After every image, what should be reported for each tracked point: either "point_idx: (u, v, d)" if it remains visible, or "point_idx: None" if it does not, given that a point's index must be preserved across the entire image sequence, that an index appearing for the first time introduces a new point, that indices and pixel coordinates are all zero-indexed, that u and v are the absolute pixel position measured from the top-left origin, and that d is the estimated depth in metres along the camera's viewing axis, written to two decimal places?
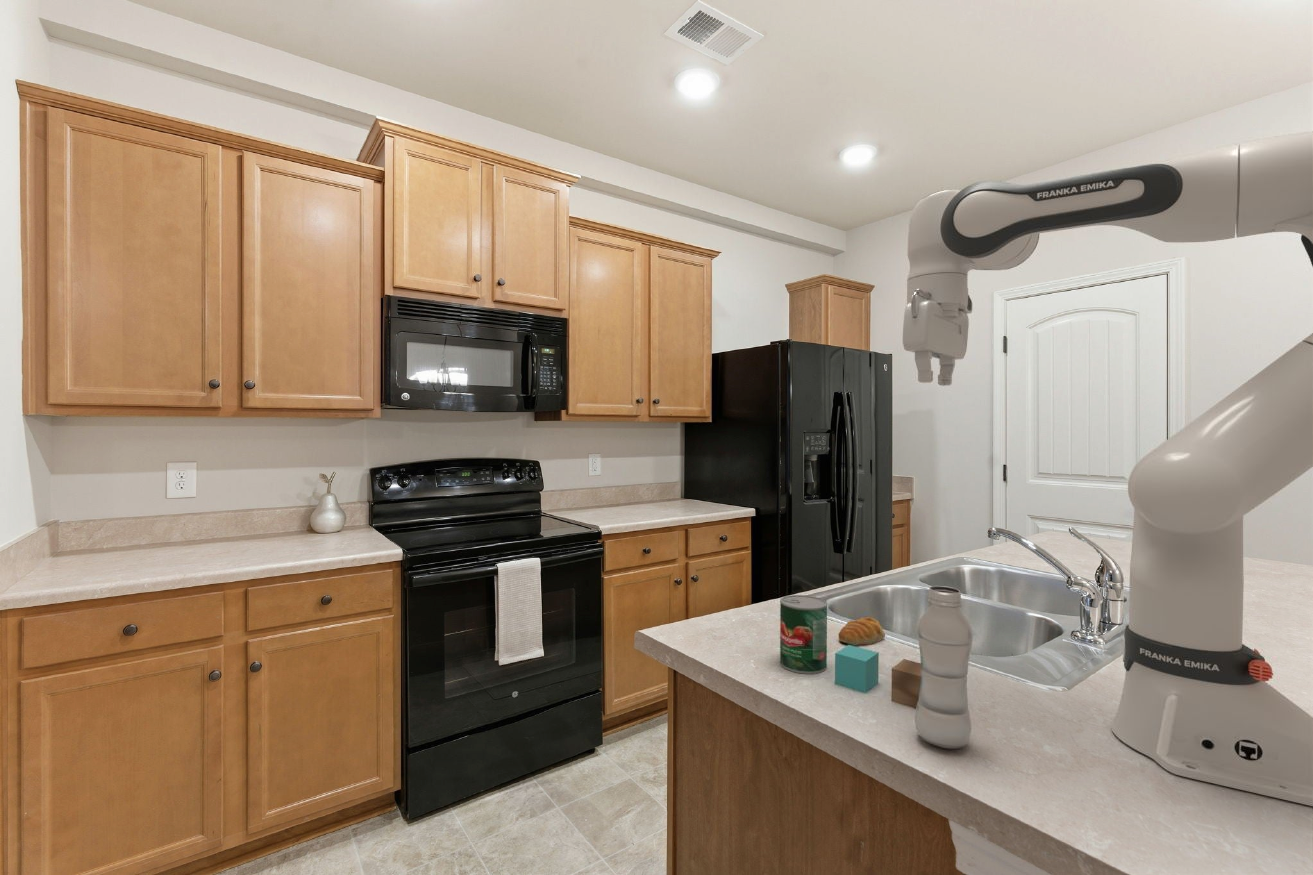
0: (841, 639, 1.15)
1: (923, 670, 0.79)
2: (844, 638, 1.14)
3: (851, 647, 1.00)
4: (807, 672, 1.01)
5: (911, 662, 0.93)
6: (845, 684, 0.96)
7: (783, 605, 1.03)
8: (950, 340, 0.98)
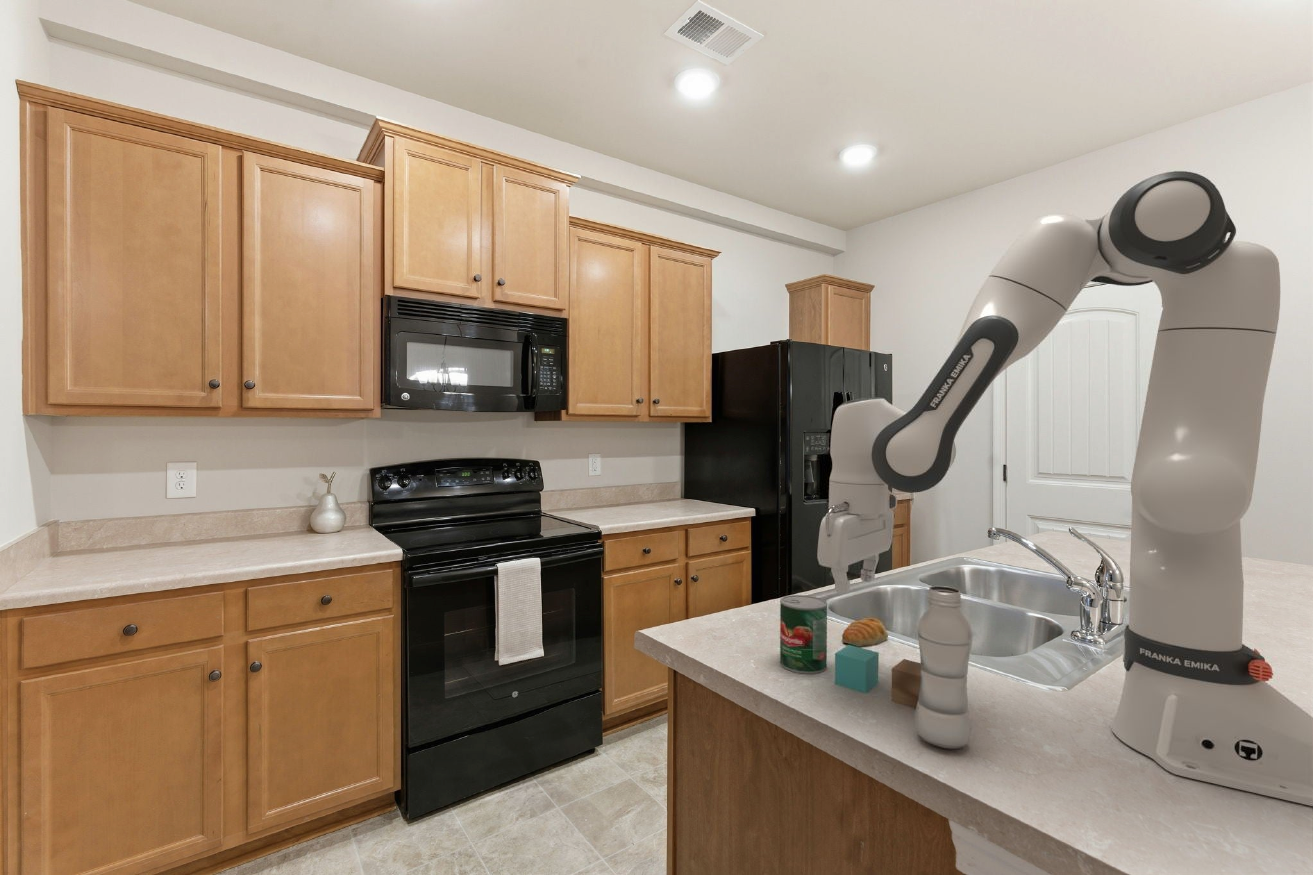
0: (845, 640, 1.14)
1: (923, 670, 0.79)
2: (848, 639, 1.14)
3: (851, 647, 1.00)
4: (807, 672, 1.01)
5: (911, 662, 0.93)
6: (845, 684, 0.96)
7: (783, 605, 1.03)
8: (870, 543, 0.97)
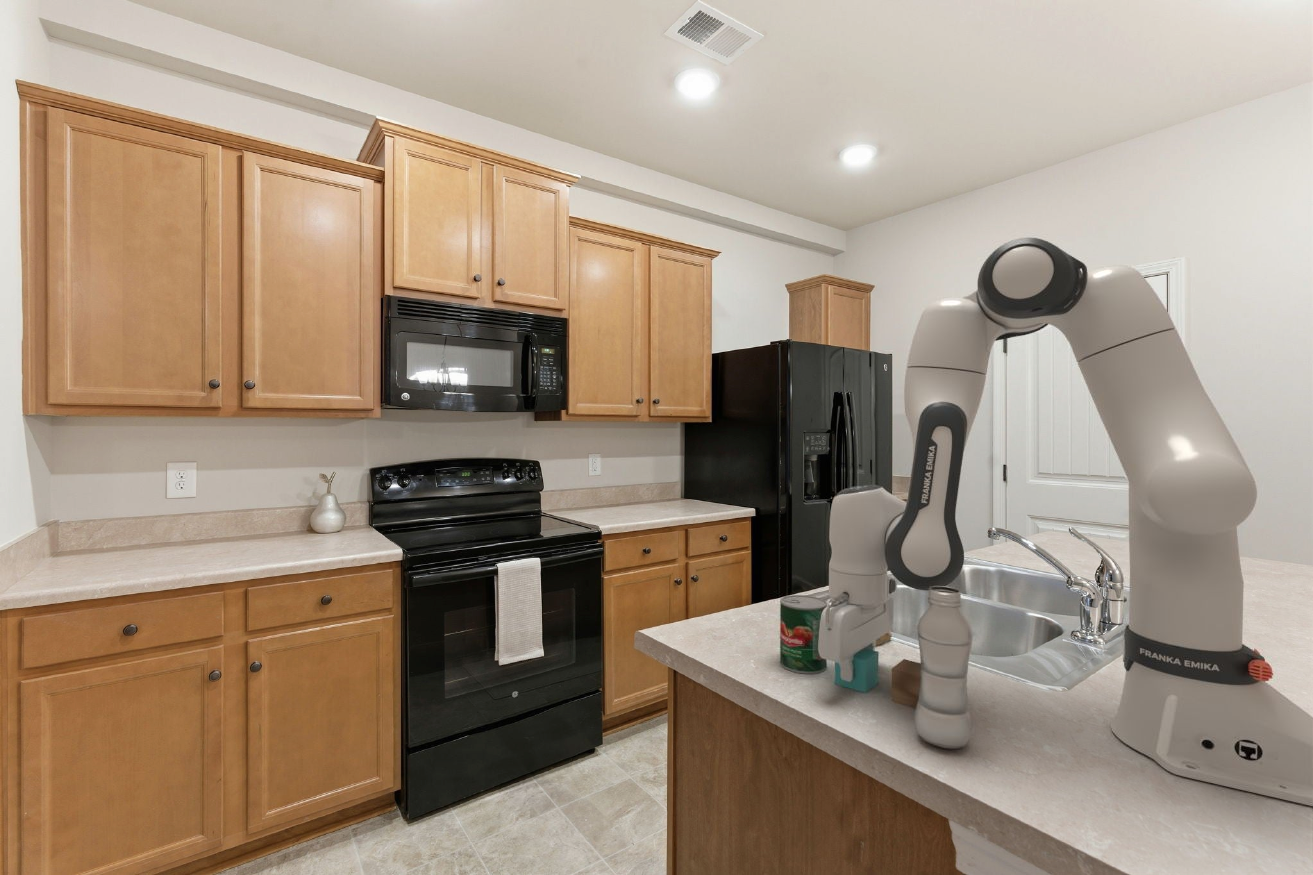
0: None
1: (923, 670, 0.79)
2: None
3: None
4: (807, 672, 1.01)
5: (911, 662, 0.93)
6: (845, 683, 0.96)
7: (783, 605, 1.03)
8: (871, 630, 0.97)
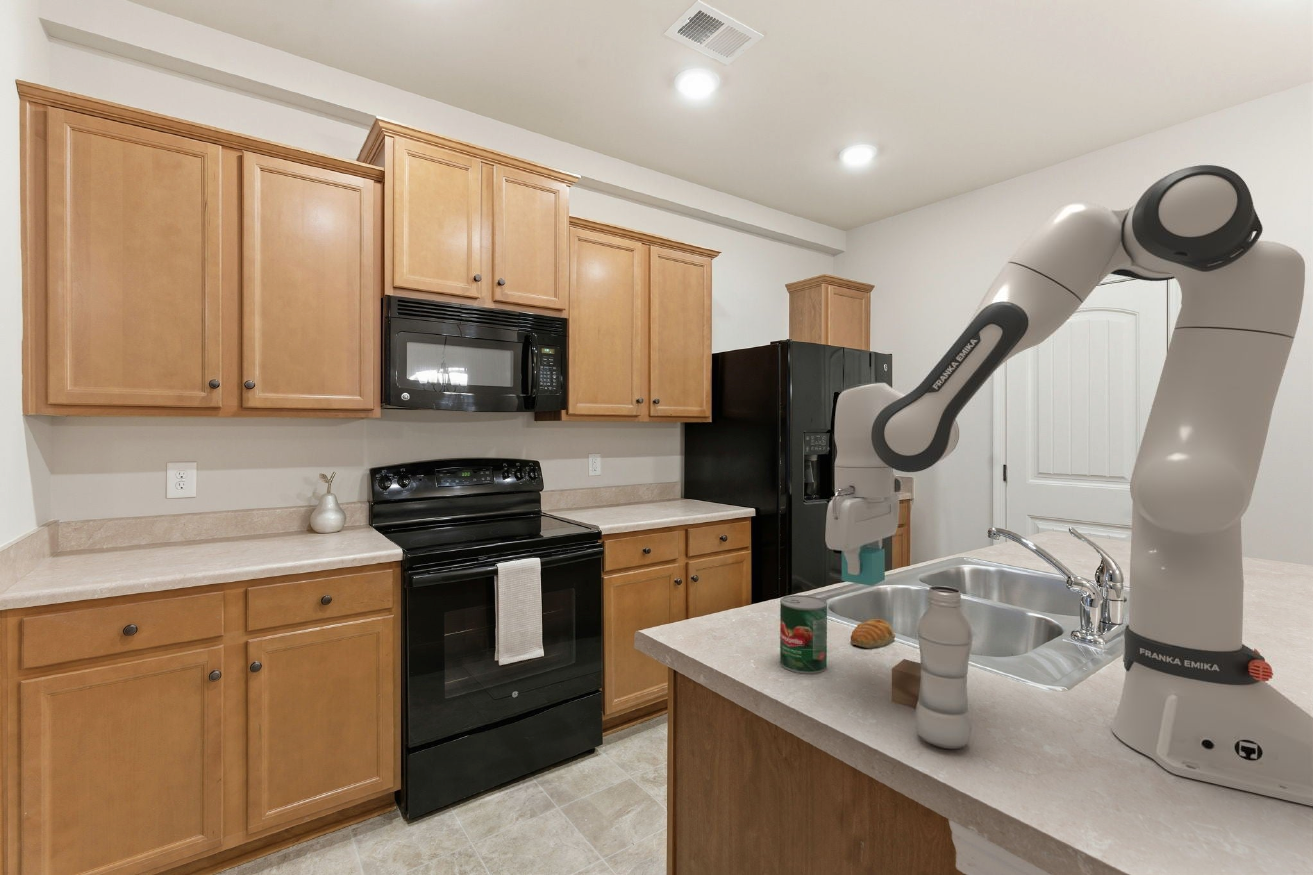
0: (854, 642, 1.13)
1: (923, 670, 0.79)
2: (857, 641, 1.13)
3: None
4: (807, 672, 1.01)
5: (911, 662, 0.93)
6: (852, 579, 0.97)
7: (783, 605, 1.03)
8: (877, 527, 0.98)
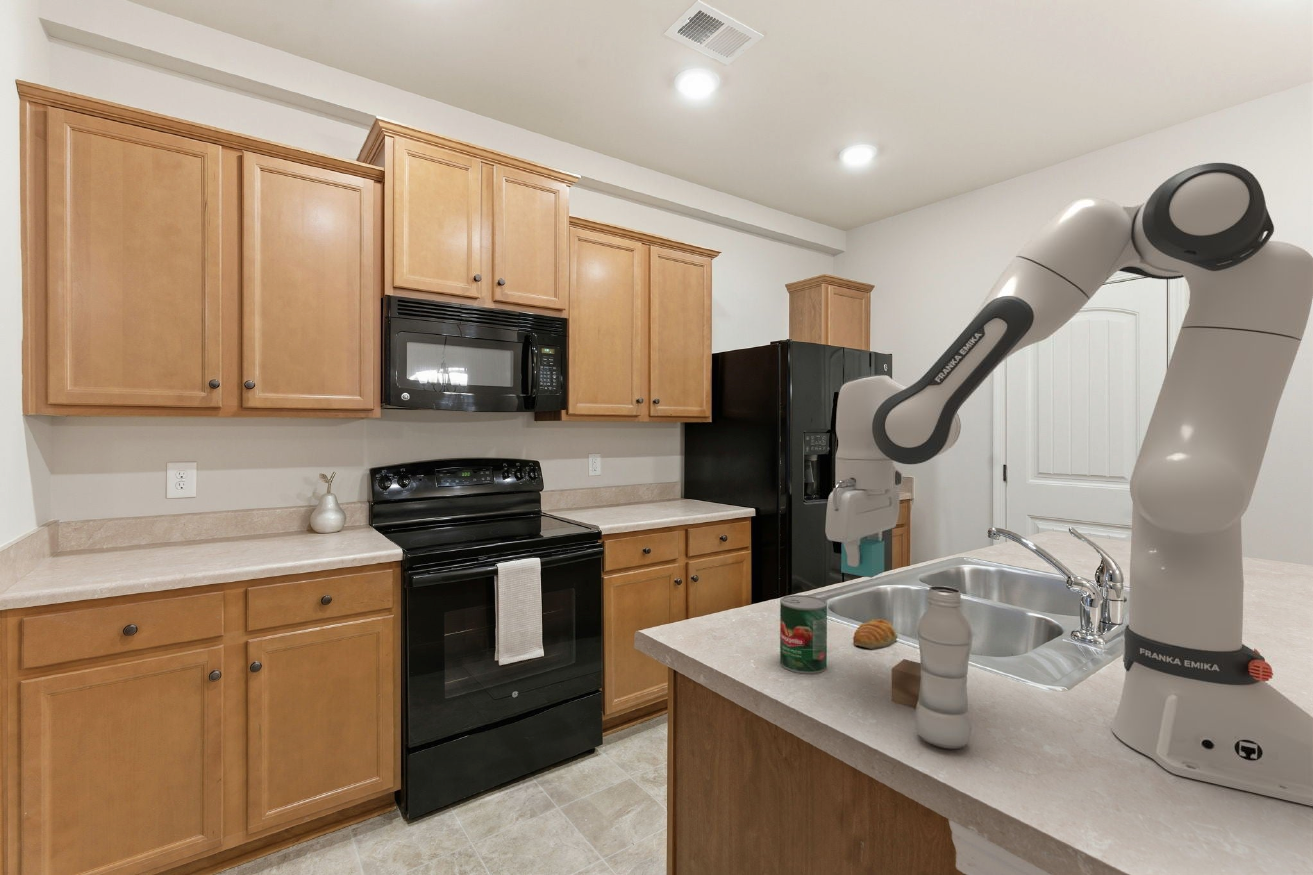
0: (857, 643, 1.13)
1: (923, 670, 0.79)
2: (860, 642, 1.12)
3: None
4: (807, 672, 1.01)
5: (911, 662, 0.93)
6: (851, 571, 0.97)
7: (783, 605, 1.03)
8: (877, 519, 0.98)
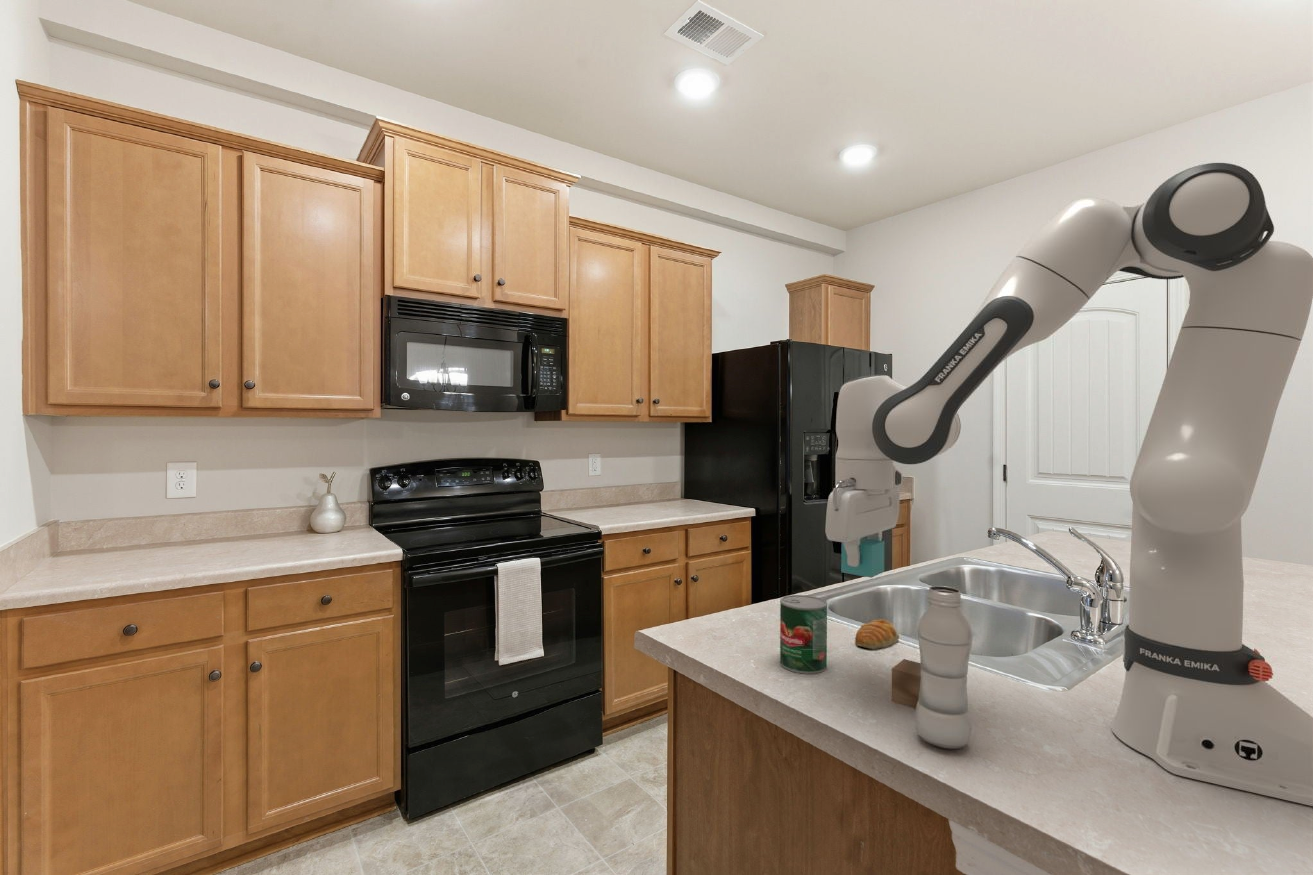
0: (859, 643, 1.13)
1: (923, 670, 0.79)
2: (862, 642, 1.12)
3: None
4: (807, 672, 1.01)
5: (911, 662, 0.93)
6: (851, 571, 0.97)
7: (783, 605, 1.03)
8: (877, 519, 0.98)
